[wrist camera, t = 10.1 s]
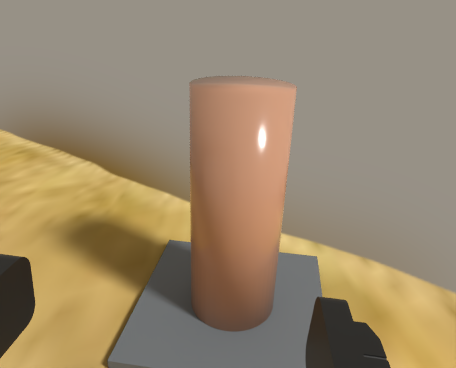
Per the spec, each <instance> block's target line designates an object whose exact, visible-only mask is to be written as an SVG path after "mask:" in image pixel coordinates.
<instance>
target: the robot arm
mask: <svg viewBox="0 0 456 368" xmlns="http://www.w3.org/2000/svg"><path fill="white" fill-rule="evenodd" d="M34 309H35V297H34V289H33V282H32V274H31V266H30V262H29V260H28V259H27V258H26V257H19V256H11V255H4V254H0V358H1V357H2V356H3V354H4V353H5V352H6V351H7V350H8V348H9V347H10V346H11V345H12V344H13V342H14V341H15V340H16V339H17V337H18V336H19V335H20V334H21V333H22V331H23V330H24V329H25V328H26V327H27V325H28V324H29V322H30V320H31V318H32V316H33V313H34ZM386 358H387V357H386V354H385V352H384V349H383V346H382V344H381V341H380V339H379V338H378V336H377V335H376V334H375V333H374V332H373V331H372V329H371V328H370V327H369V326H368V325H367V324H366V323H362V322H355V321H353V319H352V316H351V312H350V309H349V306H348V303H347V301H346V300H340V299H333V298H325V297H317V298H316V300H315V304H314V309H313V314H312V318H311V323H310V328H309V332H308V337H307V342H306V353H305V362H306V368H391V367H390V365H389V362H388V361H387V360H386Z"/></svg>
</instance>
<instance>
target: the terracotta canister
mask: <svg viewBox="0 0 456 368" xmlns="http://www.w3.org/2000/svg"><path fill="white" fill-rule="evenodd" d="M296 90H297V87H296V86H295V85H294V84H291V83H288V82H285V81H280V80H275V79H269V78H260V77H246V76H215V77H205V78H199V79H195V80H192V81H191V82H190V192H191V193H190V194H191V195H190V199H191V200H190V205H191V305H192V309H193V311H194V313H195V314H196V316H197V317H198V318H199V319H200V320H201V321H202V322H204V323H205V324H207V325H209V326H211V327H213V328H216V329H219V330H224V331H245V330H249V329H252V328H255V327H257V326H259V325H260V324H262V323H263V322H264V321H266V320H267V318H268V317H269V316H270V314H271V312H272V309H273V301H274V292H275V283H276V274H277V265H278V255H279V246H280V237H281V228H282V219H283V209H284V200H285V191H286V182H287V181H286V180H287V173H288V164H289V154H290V145H291V136H292V126H293V117H294V108H295V99H296Z"/></svg>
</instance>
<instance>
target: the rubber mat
mask: <svg viewBox="0 0 456 368" xmlns="http://www.w3.org/2000/svg"><path fill="white" fill-rule="evenodd" d="M317 297H322V291H321V283H320V276H319V268H318V260H317V257H316V256H307V255H298V254H289V253H281V252H279V255H278V265H277V274H276V283H275V292H274V301H273V309H272V312H271V314H270V316H269V317H268V318H267V320H266V321H264V322H263V323H262V324H260V325H259V326H257V327H255V328H252V329H249V330H245V331H224V330H219V329H216V328H213V327H211V326H209V325H207V324H205V323H204V322H202V321H201V320H200V319H199V318H198V317H197V316H196V314H195V313H194V311H193V309H192V305H191V242H183V241H174V240H169V242H168V244H167V246H166V248H165V250H164V252H163V254H162V256H161V258H160V260H159V262H158V264H157V266H156V268H155V269H154V271H153V273H152V275H151V277H150V279H149V281H148V283H147V285H146V287H145V289H144V291H143V293H142V295H141V297H140V299H139V301H138V303H137V304H136V306H135V308H134V310H133V312H132V314H131V316H130V318H129V320H128V322H127V324H126V326H125V328H124V330H123V332H122V334H121V336H120V338H119V339H118V341H117V343H116V345H115V347H114V349H113V351H112V353H111V355H110V357H109V359H108V368H306V362H305V353H306V342H307V337H308V332H309V328H310V323H311V318H312V314H313V309H314V304H315V300H316V298H317Z"/></svg>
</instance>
